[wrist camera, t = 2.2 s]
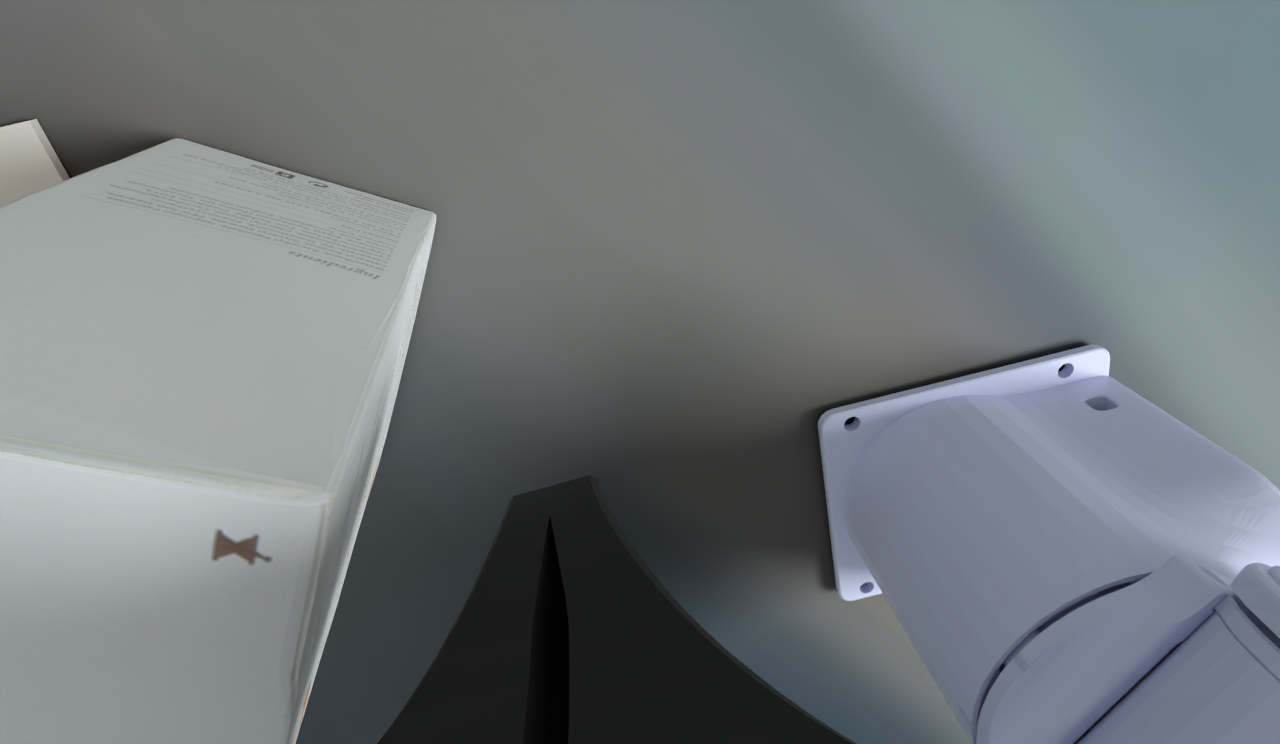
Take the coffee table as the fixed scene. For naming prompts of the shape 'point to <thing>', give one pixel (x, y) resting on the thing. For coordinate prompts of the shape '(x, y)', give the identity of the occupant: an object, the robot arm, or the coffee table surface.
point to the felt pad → (27, 161)
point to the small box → (188, 439)
